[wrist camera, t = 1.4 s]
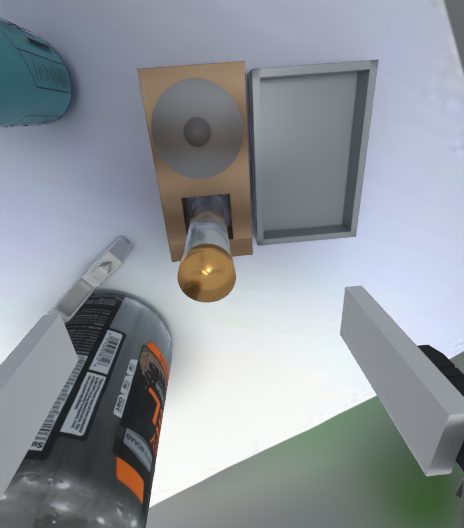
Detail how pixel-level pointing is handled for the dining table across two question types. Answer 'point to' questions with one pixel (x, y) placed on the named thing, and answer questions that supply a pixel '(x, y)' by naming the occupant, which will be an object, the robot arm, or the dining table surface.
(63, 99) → the beverage bottle
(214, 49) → the dining table surface
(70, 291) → the lighter
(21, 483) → the supplement tub
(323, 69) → the tray
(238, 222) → the pulley block
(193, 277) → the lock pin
